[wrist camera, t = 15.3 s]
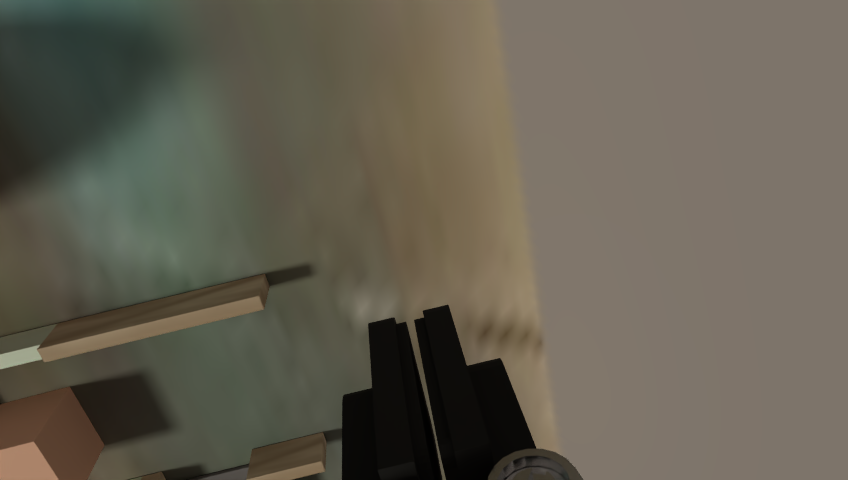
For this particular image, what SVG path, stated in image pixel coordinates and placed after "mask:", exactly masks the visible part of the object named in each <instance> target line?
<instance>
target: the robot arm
mask: <svg viewBox="0 0 848 480" xmlns="http://www.w3.org/2000/svg"><path fill="white" fill-rule="evenodd" d="M423 314H424V318H420V319H416V320H414V322H415V327H416V332H417V337H418V343H419V348H420V353H421V358H422V363H423V369H424V374H425V379H426V384H427V389H428V394H429V400H430V405H431V410H432V415H433V420H434V426H435V431H436V436H437V441H438V446H439V451H440V455H441V460H442V464H443V468H444V472H445V477H446V480H583V478H582V477H581V475H580V474H579V473H578V471H577V469H576V468H575V467H574V466H573V465H572V464H571V463H570V462H569V461H568V460H567V459H566V458H565V457H563V456H561V455H559V454H558V453H556V452H553V451H549V450H545V449H536V446H535V444H534V441H533V438H532V436H531V433H530V431H529V428H528V426H527V423H526V421H525V418H524V416H523V413H522V410H521V408H520V405H519V403H518V400H517V398H516V395H515V393H514V390H513V388H512V385H511V382H510V380H509V377H508V375H507V372H506V370H505V367H504V365H503V362H502V360H501V359H500V358H498V359H494V360H490V361H485V362H481V363H477V364H473V365H469V366H467V365H466V362H465V358H464V355H463V352H462V348H461V345H460V342H459V338H458V335H457V332H456V328H455V325H454V322H453V319H452V315H451V312H450V309H449V305H445V306H441V307H436V308H432V309H428V310H424V311H423ZM368 328H369V344H370V359H371V375H372V388H371V389H367V390H362V391H358V392H354V393H350V394H345V395H344V396H343V402H342V480H442V475H441V469H440V464H439V459H438V454H437V448H436V443H435V438H434V433H433V428H432V424H431V420H430V416H429V412H428V408H427V404H426V400H425V396H424V392H423V388H422V384H421V380H420V375H419V371H418V367H417V363H416V359H415V355H414V351H413V347H412V343H411V339H410V335H409V331H408V327H407V324H406V322H403V323H399V324H396V321H395V318H389V319H385V320H381V321H376V322H372V323H369V324H368Z"/></svg>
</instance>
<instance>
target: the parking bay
mask: <svg viewBox="0 0 848 480" xmlns="http://www.w3.org/2000/svg"><path fill="white" fill-rule="evenodd" d="M269 287H270V286H269V284H268V281H267V278H266V275H265V274H261V275H257V276H253V277H249V278H245V279H241V280H237V281H232V282H228V283H224V284H220V285H216V286H212V287H207V288H203V289H199V290H195V291H191V292H187V293H182V294H178V295H174V296H170V297H166V298H162V299H157V300H153V301H149V302H145V303H141V304H137V305H133V306H128V307H124V308H120V309H116V310H112V311H108V312H103V313H99V314H95V315H91V316H87V317H83V318H78V319H74V320H70V321H66V322H62V323H58V324H57V325H56V326H55V327H54V329H53V330H52V331H51V332H50V334H49V335H48V336H47V337H46V339H45V340H44V341H43V342H42V343H41V345H40V346H39V347H38V348H37V351H38V352H39V354H40V356H41V358H42V359H43V361H44V362H48V361H52V360H56V359H60V358H65V357H69V356H73V355H77V354H81V353H85V352H89V351H94V350H98V349H102V348H106V347H110V346H114V345H118V344H123V343H127V342H131V341H135V340H139V339H143V338H147V337H152V336H156V335H160V334H164V333H168V332H172V331H176V330H181V329H185V328H189V327H193V326H197V325H201V324H205V323H210V322H214V321H218V320H222V319H226V318H230V317H234V316H239V315H243V314H247V313H251V312H255V311H259V310H263V309H264V307H265V303H266V299H267V295H268V291H269ZM325 465H326V439H325V437H324V434H323V432H322V433H318V434H313V435H309V436H305V437H301V438H297V439H293V440H289V441H285V442H281V443H277V444H273V445H269V446H264V447H260V448H256V449H252V453H251V458H250V463H249V464H248V465H244V466H239V467H235V468H231V469H227V470H223V471H219V472H215V473H211V474H207V475H203V476H199V477H195V478H191V479H186V480H292V479H296V478H300V477H304V476H308V475H312V474H316V473H320V472H324V471H325ZM141 480H166V479H165V477H164V475H163V473H162V472H158V473H154V474H150V475H146V476H142V478H141Z"/></svg>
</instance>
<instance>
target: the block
mask: <svg viewBox="0 0 848 480" xmlns="http://www.w3.org/2000/svg"><path fill="white" fill-rule="evenodd" d="M103 447H104V443H103V442H102V440H101V438H100V437H99V435H98V433H97V432H96V430H95V428H94V427H93V425H92V423H91V422H90V420H89V418H88V417H87V415H86V413H85V412H84V410H83V408H82V407H81V405H80V403H79V401H78V400H77V398H76V396H75V395H74V393H73V391H72V390H71V388H70V387H66V388H62V389H58V390H54V391H50V392H46V393H42V394H39V395H35V396H31V397H27V398H23V399H19V400H15V401H11V402H7V403H3V404H0V480H87V479H88V477H89V475H90V473H91V471H92V469H93V467H94V465H95V463H96V461H97V459H98V457H99V455H100V453H101V451H102V449H103Z"/></svg>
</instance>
